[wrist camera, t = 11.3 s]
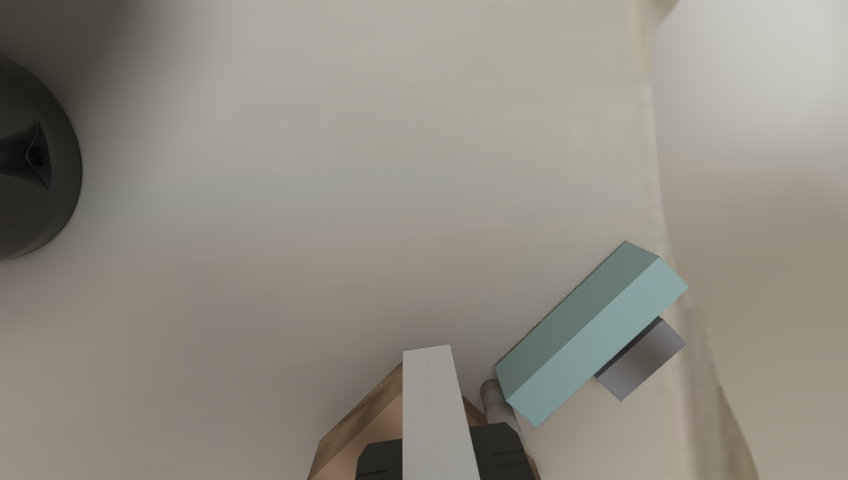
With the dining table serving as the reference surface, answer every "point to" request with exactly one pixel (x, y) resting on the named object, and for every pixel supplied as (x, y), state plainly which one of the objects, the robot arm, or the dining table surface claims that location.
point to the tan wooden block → (384, 406)
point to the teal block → (587, 331)
